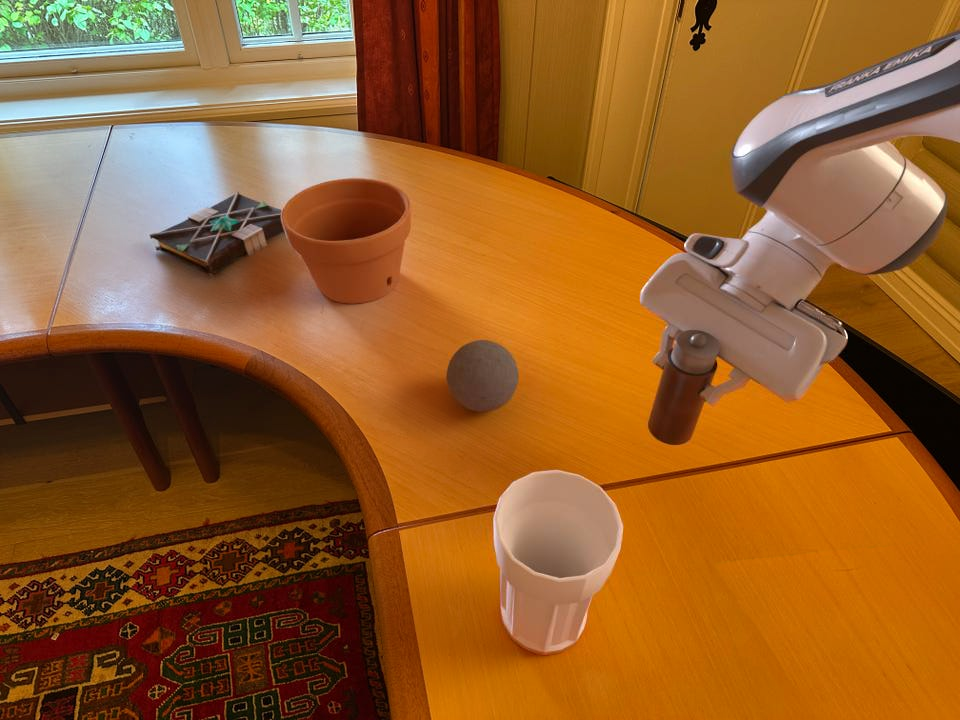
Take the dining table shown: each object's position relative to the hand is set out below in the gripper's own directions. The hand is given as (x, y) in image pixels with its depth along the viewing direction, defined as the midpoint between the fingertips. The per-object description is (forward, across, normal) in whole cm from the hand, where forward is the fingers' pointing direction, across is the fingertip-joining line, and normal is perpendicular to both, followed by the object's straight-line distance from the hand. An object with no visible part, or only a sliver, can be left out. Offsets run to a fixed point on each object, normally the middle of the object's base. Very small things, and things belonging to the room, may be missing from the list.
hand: (681, 383), depth 66 cm
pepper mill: (+5, 0, -6) cm, 8 cm away
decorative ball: (+19, +24, -5) cm, 31 cm away
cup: (+28, -5, +4) cm, 29 cm away
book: (+29, +88, +6) cm, 93 cm away
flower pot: (+19, +61, -5) cm, 64 cm away
